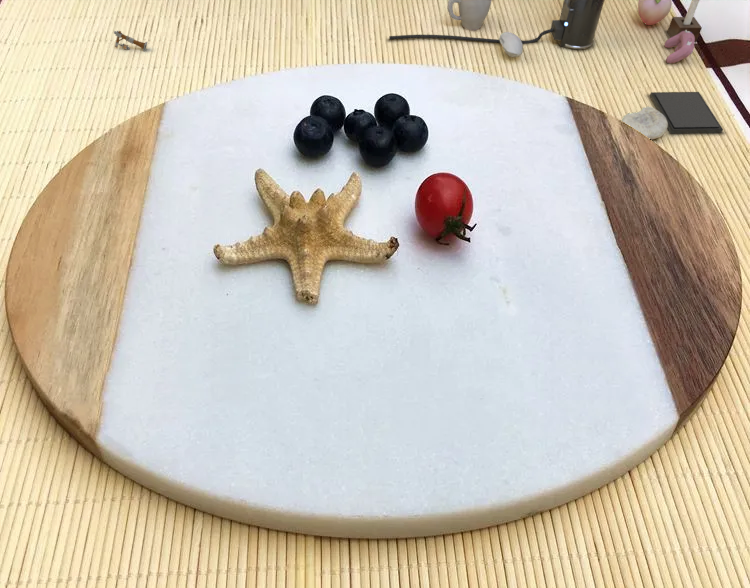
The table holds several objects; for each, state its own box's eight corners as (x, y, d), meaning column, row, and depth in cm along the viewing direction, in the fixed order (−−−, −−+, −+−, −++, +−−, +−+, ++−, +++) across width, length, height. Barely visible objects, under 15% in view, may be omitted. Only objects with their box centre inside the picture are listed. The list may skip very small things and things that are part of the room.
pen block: (674, 42, 180) (680, 27, 177) (667, 31, 184) (672, 16, 181) (696, 42, 181) (702, 27, 177) (688, 31, 184) (694, 16, 181)
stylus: (679, 38, 182) (698, -13, 171) (677, 35, 183) (696, -16, 172) (685, 38, 182) (705, -13, 171) (683, 35, 183) (703, -16, 173)
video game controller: (677, 71, 174) (700, 49, 169) (664, 61, 173) (686, 38, 168) (675, 52, 180) (696, 30, 175) (662, 43, 179) (683, 20, 174)
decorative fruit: (667, 33, 183) (681, -5, 175) (637, 32, 183) (650, -6, 175) (658, 17, 189) (672, -21, 181) (630, 16, 189) (642, -22, 181)
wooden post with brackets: (112, 43, 171) (115, 27, 168) (144, 56, 174) (147, 41, 171) (110, 46, 170) (113, 30, 167) (142, 60, 173) (145, 44, 170)
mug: (480, 16, 187) (486, -22, 179) (492, 31, 182) (498, -7, 174) (440, 20, 185) (443, -17, 177) (451, 36, 180) (455, -2, 172)
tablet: (670, 134, 154) (672, 129, 153) (649, 96, 164) (651, 91, 163) (721, 133, 155) (723, 128, 154) (697, 95, 164) (699, 90, 164)
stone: (492, 47, 177) (496, 28, 173) (511, 45, 178) (515, 25, 174) (506, 66, 171) (510, 46, 167) (526, 63, 172) (530, 44, 168)
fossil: (636, 95, 156) (676, 113, 154) (629, 109, 159) (668, 127, 157) (620, 117, 150) (662, 136, 148) (613, 131, 153) (654, 150, 151)
